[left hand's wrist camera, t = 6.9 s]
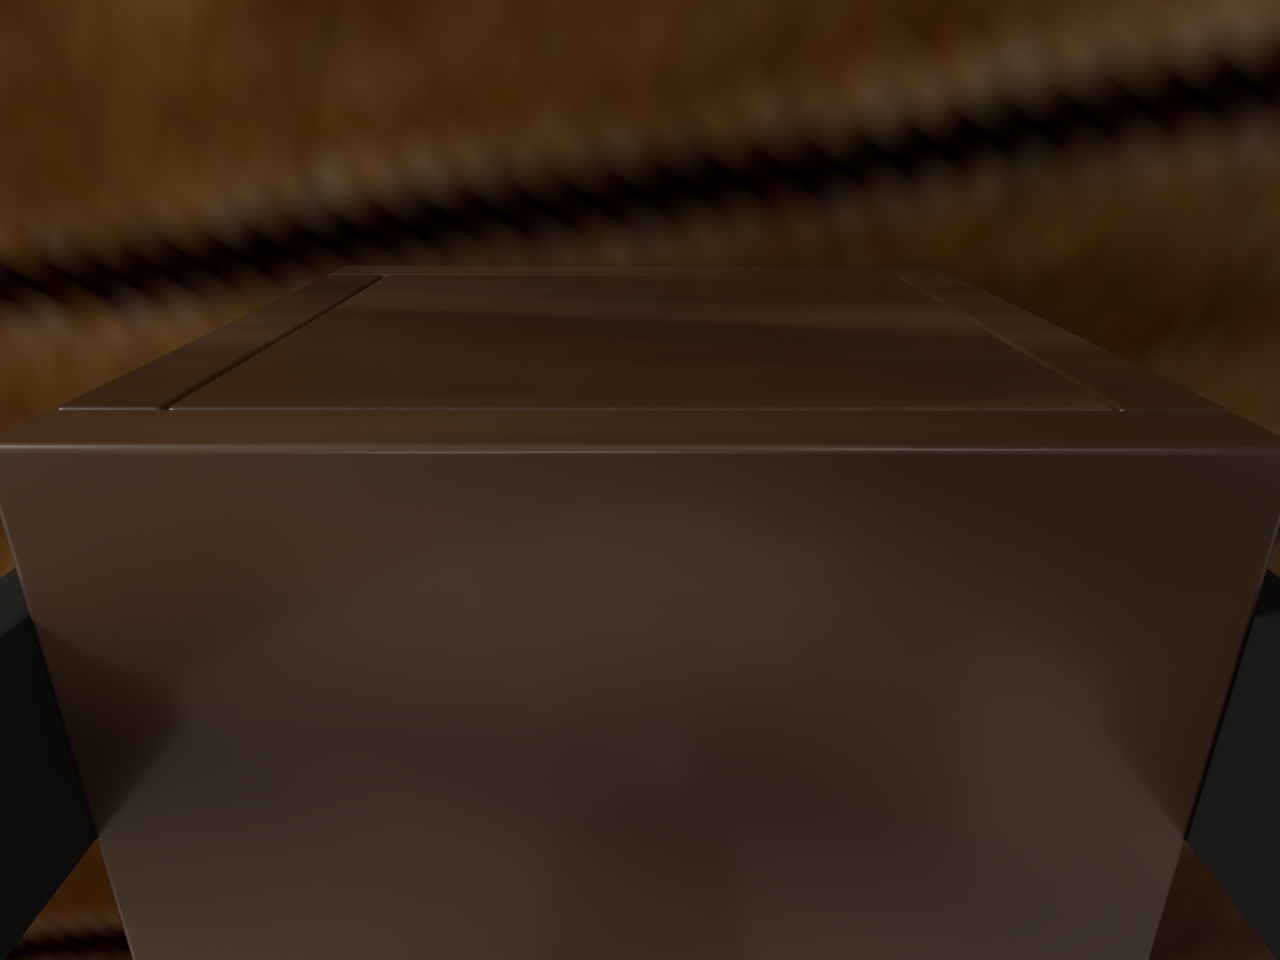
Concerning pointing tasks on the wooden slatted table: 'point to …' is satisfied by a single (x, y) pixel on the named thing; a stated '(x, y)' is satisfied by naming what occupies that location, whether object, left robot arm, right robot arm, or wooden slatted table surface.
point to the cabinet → (640, 620)
